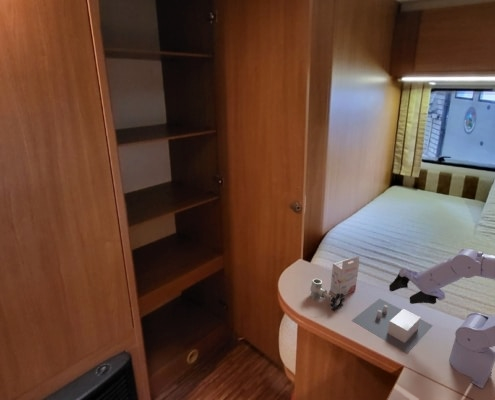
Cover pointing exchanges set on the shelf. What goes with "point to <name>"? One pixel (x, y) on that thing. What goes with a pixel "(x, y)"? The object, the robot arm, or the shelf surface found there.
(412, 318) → the block
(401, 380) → the shelf surface
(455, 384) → the shelf surface
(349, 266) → the ink cartridge box
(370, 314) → the board
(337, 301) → the valve
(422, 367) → the shelf surface
